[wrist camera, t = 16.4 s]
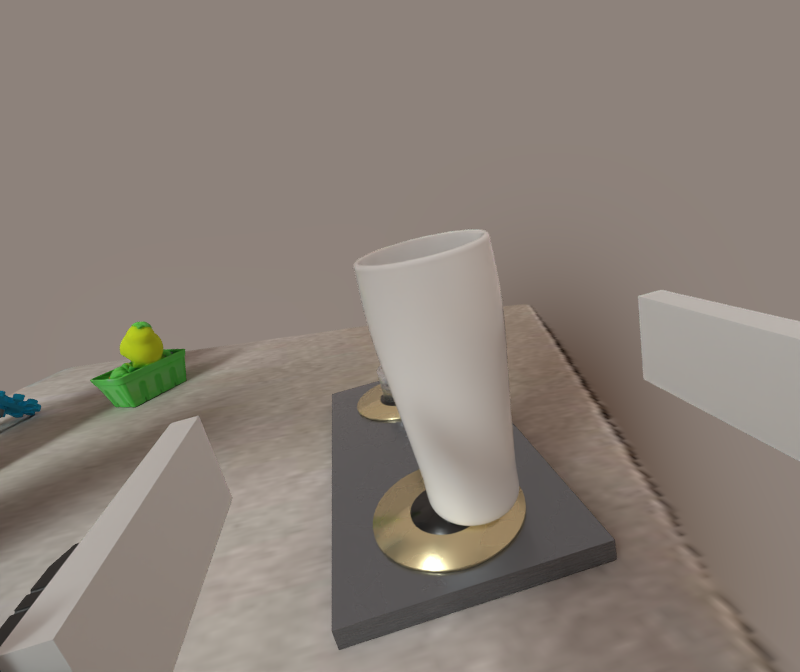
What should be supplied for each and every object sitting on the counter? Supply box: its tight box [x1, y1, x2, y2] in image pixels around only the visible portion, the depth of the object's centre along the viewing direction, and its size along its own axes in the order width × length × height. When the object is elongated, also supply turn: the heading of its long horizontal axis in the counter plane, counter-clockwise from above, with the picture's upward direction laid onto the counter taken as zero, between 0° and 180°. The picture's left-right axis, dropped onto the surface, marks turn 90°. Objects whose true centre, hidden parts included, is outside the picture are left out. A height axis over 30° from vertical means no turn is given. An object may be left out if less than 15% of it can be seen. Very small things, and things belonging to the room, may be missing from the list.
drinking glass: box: [353, 229, 519, 526], centre depth 23 cm, size 7×7×15 cm
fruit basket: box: [90, 322, 186, 407], centre depth 65 cm, size 11×9×11 cm
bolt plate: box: [332, 366, 617, 650], centre depth 34 cm, size 28×14×4 cm, turn 9°
